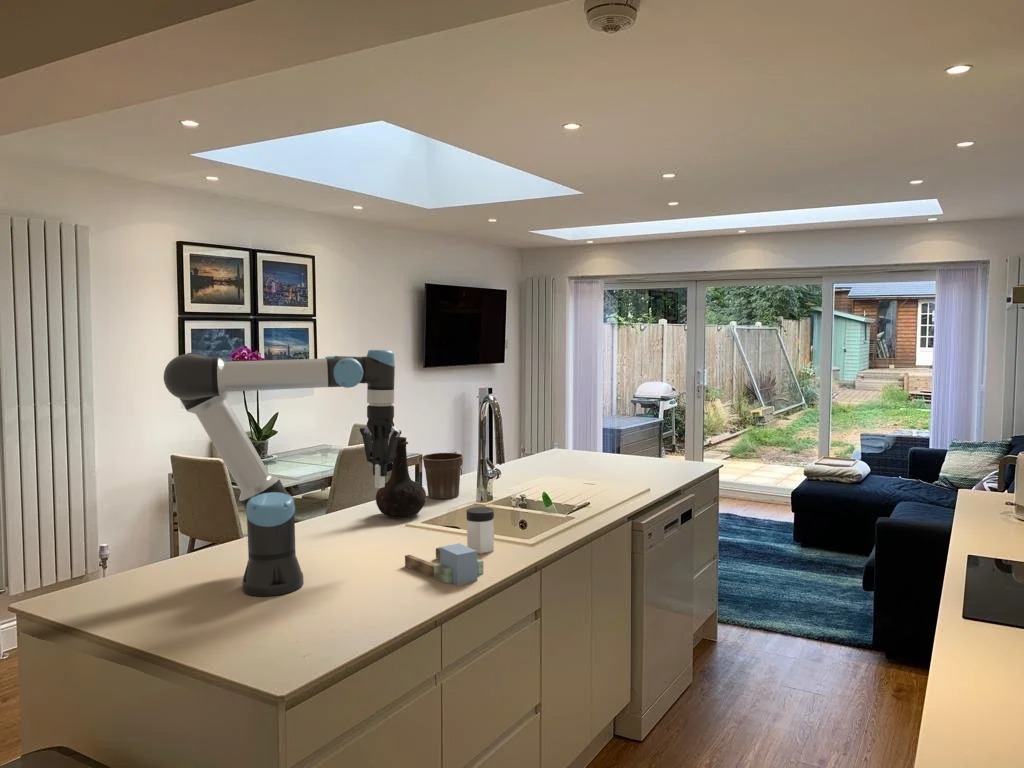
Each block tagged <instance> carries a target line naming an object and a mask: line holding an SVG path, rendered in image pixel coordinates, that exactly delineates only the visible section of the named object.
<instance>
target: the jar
mask: <svg viewBox="0 0 1024 768" xmlns="http://www.w3.org/2000/svg"><path fill="white" fill-rule="evenodd" d="M494 512H495V509H494V508H491V507H487V506H476V507H469V508H467V509H466V513H465V514H466V541H467V542H466V546H467V547H469V548H471V549H474V550H476V551H477V554H480V555H481V554H486V553H491V552H494V551H495V547H494V546H495V543H494V542H495V526H494V516H495V513H494Z"/></svg>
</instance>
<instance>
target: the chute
mask: <svg viewBox="0 0 1024 768" xmlns="http://www.w3.org/2000/svg"><path fill="white" fill-rule="evenodd" d="M440 547H441V546H439V547H436V548H435V559H437V560H439V561H440ZM404 566H405V567H406V568H409V569H410V570H414V571H416V572H418V573H420V574H424V575H425V576H428V577H431V578H433V579H434V580H435V579H436V580H438V581H440V582H443V583H445V584H450V583H451V584H452V583H453V582H452V569H450V568H448V567H445V566H443V565H440V563H437V564H434V563H432V562H430V561H427V560H424V559H422V558H419V557H417V556H414V555H412V554H406V555H404ZM477 575H484V560H482V559H480V558H477Z"/></svg>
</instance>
